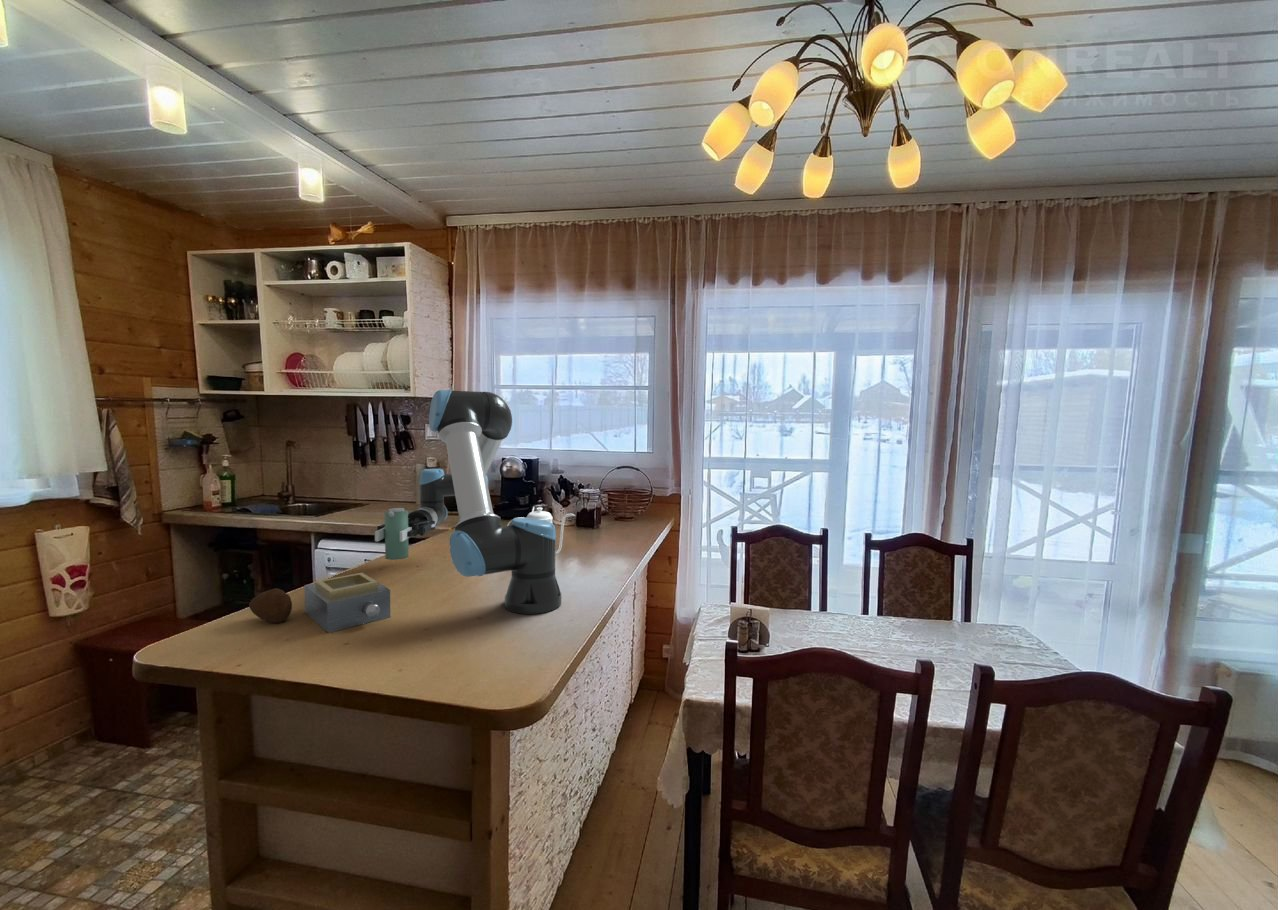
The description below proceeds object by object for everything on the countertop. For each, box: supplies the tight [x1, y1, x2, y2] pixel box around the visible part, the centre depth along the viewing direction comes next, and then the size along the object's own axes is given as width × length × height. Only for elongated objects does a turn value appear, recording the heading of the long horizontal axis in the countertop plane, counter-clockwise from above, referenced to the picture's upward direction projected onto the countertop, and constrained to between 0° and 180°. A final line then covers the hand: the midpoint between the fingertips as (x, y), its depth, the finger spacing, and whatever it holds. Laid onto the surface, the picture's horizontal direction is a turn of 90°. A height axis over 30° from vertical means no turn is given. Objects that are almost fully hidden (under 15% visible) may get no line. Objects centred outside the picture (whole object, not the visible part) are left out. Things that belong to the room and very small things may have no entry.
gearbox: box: [304, 572, 391, 633], centre depth 130 cm, size 21×14×8 cm, turn 47°
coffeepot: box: [506, 507, 576, 554], centre depth 185 cm, size 11×25×19 cm, turn 84°
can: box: [384, 507, 410, 561], centre depth 147 cm, size 7×6×14 cm
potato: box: [248, 587, 293, 624], centre depth 126 cm, size 7×10×8 cm
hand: (388, 536), depth 143 cm, fingers closed on can, 6 cm apart
